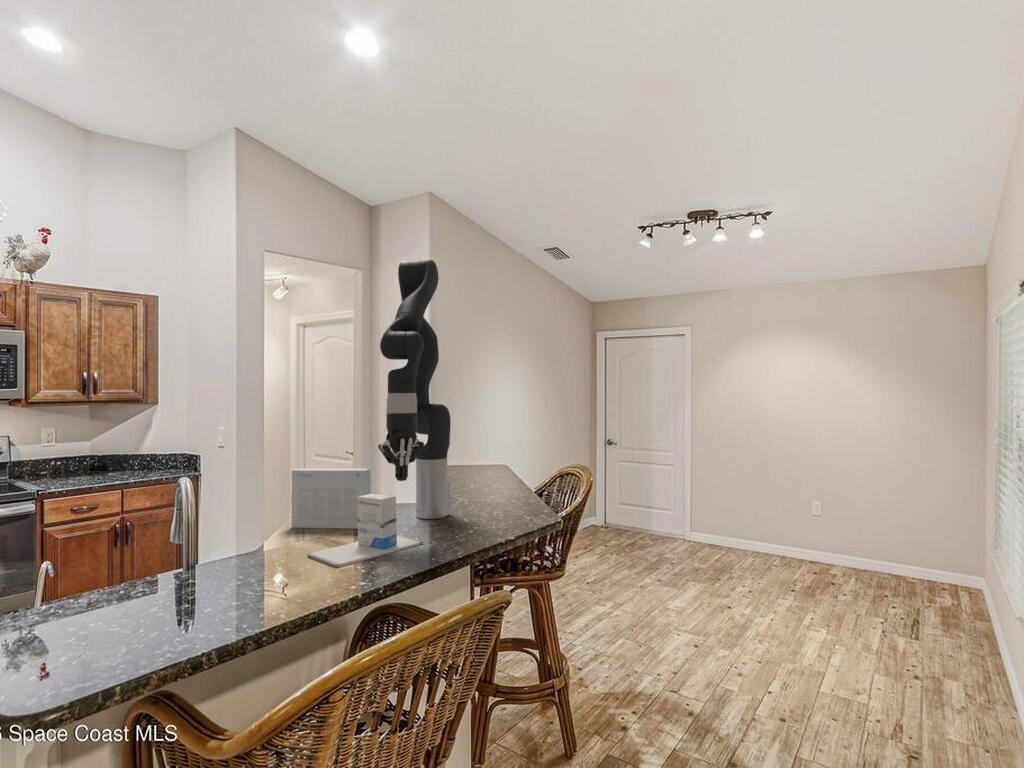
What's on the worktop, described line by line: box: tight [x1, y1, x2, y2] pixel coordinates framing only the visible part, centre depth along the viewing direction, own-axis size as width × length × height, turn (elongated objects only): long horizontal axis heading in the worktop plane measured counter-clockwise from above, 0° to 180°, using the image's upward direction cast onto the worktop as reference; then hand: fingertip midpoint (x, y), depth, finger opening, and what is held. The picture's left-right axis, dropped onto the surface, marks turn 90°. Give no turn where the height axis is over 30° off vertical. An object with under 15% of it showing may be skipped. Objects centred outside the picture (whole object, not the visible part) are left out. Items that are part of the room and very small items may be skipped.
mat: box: [306, 533, 424, 569], centre depth 136 cm, size 24×12×1 cm, turn 139°
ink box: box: [357, 493, 398, 549], centre depth 139 cm, size 9×5×12 cm, turn 60°
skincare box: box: [290, 467, 372, 530], centre depth 160 cm, size 21×5×16 cm, turn 84°
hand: (401, 480), depth 144 cm, fingers closed
